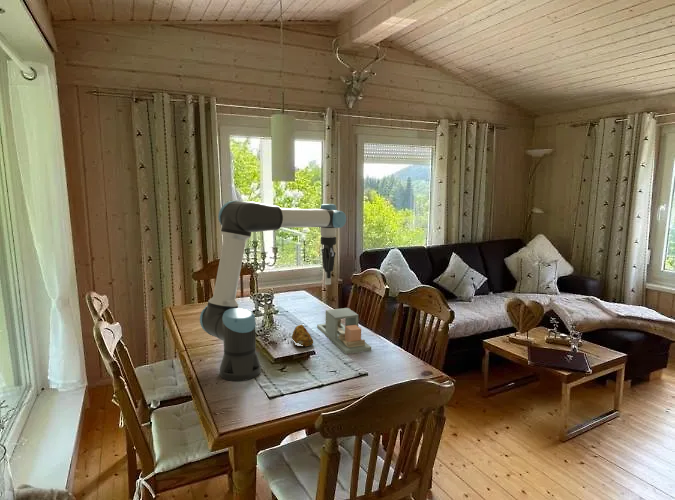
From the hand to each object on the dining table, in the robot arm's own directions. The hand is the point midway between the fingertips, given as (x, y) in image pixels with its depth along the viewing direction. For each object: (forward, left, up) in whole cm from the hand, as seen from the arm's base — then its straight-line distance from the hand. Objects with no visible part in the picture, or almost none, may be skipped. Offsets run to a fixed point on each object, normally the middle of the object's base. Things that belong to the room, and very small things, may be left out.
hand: (327, 284), depth 207 cm
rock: (-16, +19, -23) cm, 33 cm away
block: (-28, -1, -19) cm, 34 cm away
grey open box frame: (-18, -1, -20) cm, 28 cm away
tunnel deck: (-16, -1, -22) cm, 27 cm away
